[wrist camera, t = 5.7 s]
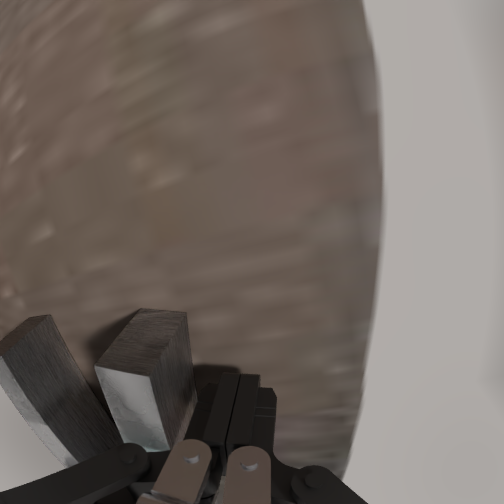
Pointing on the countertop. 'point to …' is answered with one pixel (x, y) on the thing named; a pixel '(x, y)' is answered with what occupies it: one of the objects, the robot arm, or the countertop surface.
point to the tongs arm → (150, 379)
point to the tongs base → (54, 393)
